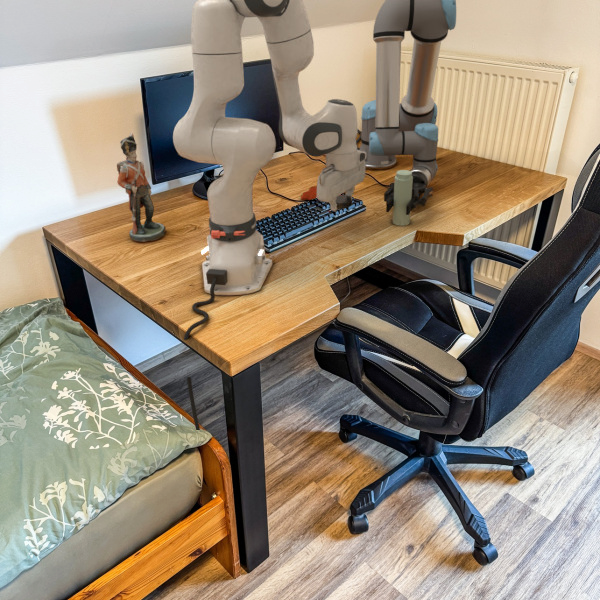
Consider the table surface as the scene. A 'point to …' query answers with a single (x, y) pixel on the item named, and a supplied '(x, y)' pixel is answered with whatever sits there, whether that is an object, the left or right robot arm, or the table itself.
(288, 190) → the table surface
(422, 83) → the right robot arm
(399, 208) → the jar
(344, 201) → the lid
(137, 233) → the figurine
